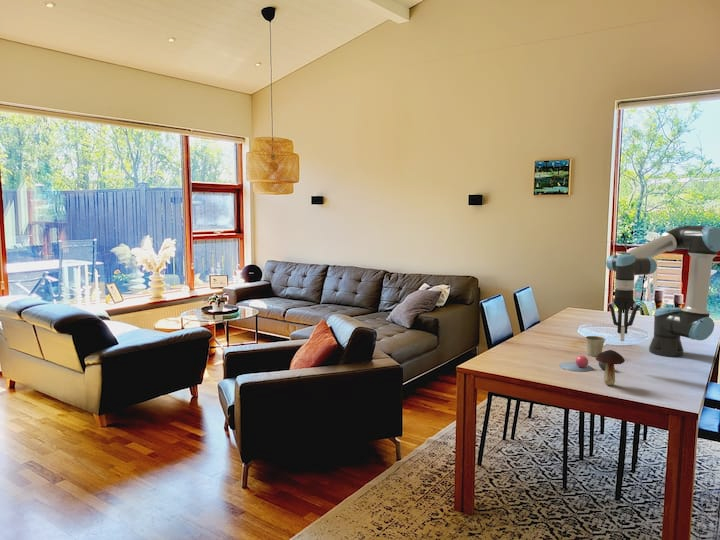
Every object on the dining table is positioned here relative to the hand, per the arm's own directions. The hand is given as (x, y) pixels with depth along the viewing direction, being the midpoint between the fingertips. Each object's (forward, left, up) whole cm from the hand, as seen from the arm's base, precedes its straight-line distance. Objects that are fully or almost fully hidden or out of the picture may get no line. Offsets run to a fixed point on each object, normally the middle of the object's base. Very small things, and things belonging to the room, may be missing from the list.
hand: (621, 340), depth 239 cm
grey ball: (+7, 0, -11) cm, 13 cm away
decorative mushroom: (+8, +23, -14) cm, 28 cm away
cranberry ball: (+16, 0, -11) cm, 20 cm away
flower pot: (+8, -24, -14) cm, 29 cm away
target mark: (+19, 0, -14) cm, 24 cm away
